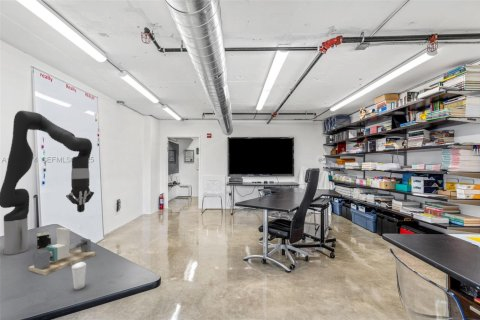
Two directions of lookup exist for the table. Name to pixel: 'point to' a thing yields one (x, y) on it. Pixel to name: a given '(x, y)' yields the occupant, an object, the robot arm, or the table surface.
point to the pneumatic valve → (43, 240)
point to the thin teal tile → (54, 252)
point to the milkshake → (79, 274)
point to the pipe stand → (47, 266)
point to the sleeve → (62, 242)
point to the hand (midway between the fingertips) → (80, 211)
